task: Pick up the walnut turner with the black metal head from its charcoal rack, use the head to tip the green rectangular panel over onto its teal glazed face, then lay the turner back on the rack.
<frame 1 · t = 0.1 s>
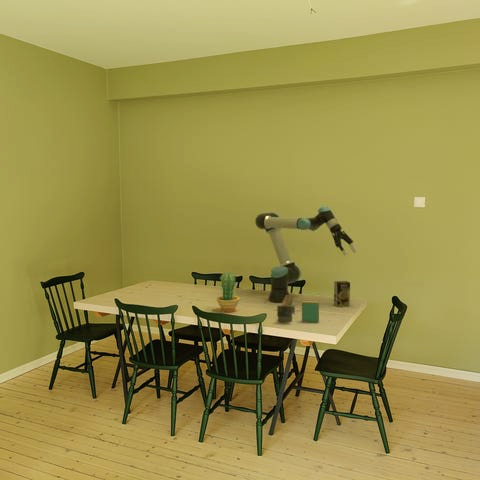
hand: (350, 253, 307), 36 cm above the table, tool tilted 35°, fingers open, 13 cm apart
tool rack: (286, 315, 291), on the table
green rectangular panel: (310, 321, 278), on the table
coffee box: (341, 305, 315), on the table
potted cactus: (228, 310, 306), on the table
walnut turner: (286, 309, 290), point 4 cm above the table, touching tool rack
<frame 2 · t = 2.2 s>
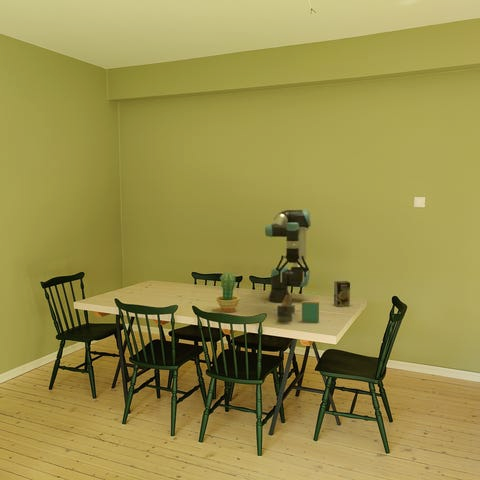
hand: (292, 282, 288), 21 cm above the table, tool pointing down, fingers open, 13 cm apart
nothing on the table moved.
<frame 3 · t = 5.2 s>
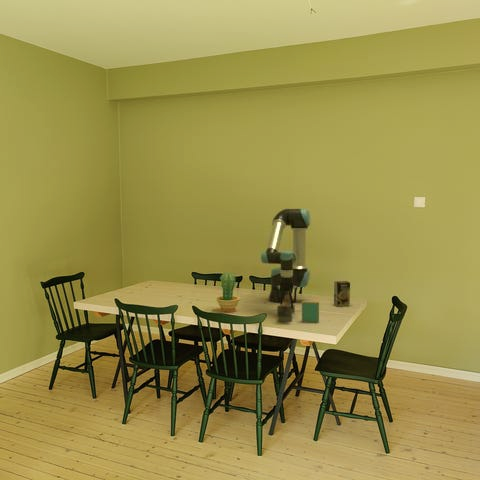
hand: (286, 313, 290), 2 cm above the table, tool pointing down, fingers closed on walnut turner, 4 cm apart
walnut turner: (286, 309, 290), point 4 cm above the table, touching gripper, tool rack
everything else where it was.
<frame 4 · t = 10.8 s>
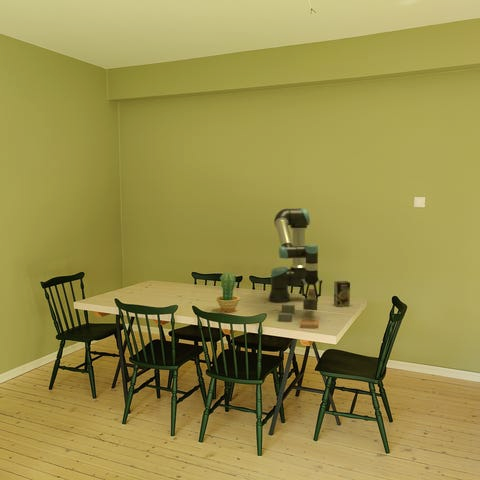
hand: (311, 307, 289), 6 cm above the table, tool pointing down, fingers closed on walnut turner, 4 cm apart
green rectangular panel: (310, 320, 276), point 1 cm above the table, tilted 90°
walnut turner: (311, 303, 288), point 8 cm above the table, touching gripper
everything else where it was.
when the fingers open (3 cm above the table, at t = 16.7 s): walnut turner stays where it is, resting on tool rack.
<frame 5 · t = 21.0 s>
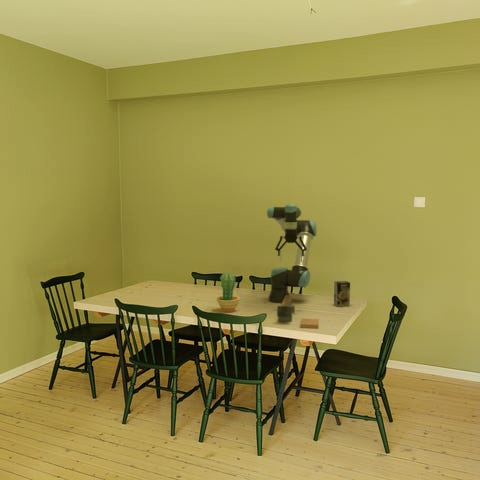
hand: (290, 261, 304), 32 cm above the table, tool pointing down, fingers open, 13 cm apart
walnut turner: (286, 309, 290), point 4 cm above the table, touching tool rack
everything else where it was.
at the end: green rectangular panel tilted 90°; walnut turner 0.1 cm off-centre on the tool rack, point 4.0 cm above the tool rack's base; the gripper is holding nothing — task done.
